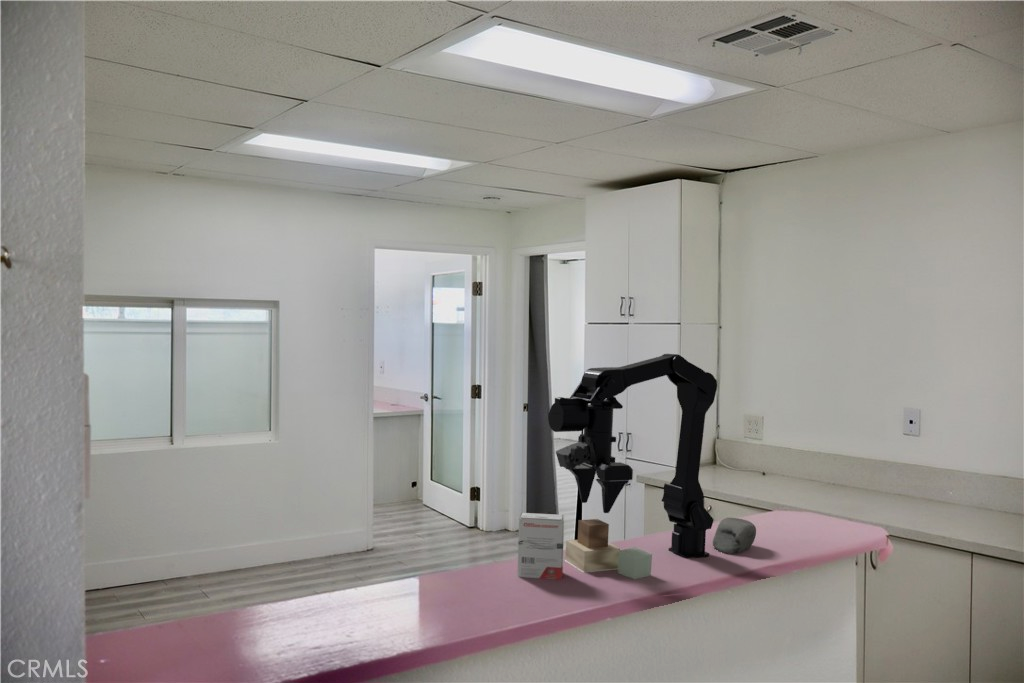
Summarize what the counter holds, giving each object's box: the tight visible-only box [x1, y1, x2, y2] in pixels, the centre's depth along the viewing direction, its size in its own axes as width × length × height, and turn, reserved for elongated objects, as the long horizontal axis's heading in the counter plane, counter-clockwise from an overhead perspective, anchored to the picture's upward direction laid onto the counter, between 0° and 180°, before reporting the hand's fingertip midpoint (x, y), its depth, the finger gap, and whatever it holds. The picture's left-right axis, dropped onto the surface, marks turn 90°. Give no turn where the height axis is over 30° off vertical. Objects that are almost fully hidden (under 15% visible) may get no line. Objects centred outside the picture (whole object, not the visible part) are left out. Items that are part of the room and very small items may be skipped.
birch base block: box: [564, 539, 621, 573], centre depth 158 cm, size 8×8×4 cm
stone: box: [712, 517, 757, 555], centre depth 176 cm, size 9×9×10 cm
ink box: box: [517, 512, 565, 581], centre depth 150 cm, size 9×5×12 cm, turn 84°
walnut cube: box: [577, 518, 610, 548], centre depth 158 cm, size 4×4×4 cm
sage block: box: [617, 546, 653, 580], centre depth 153 cm, size 4×4×4 cm
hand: (594, 507), depth 158 cm, fingers open, 9 cm apart
